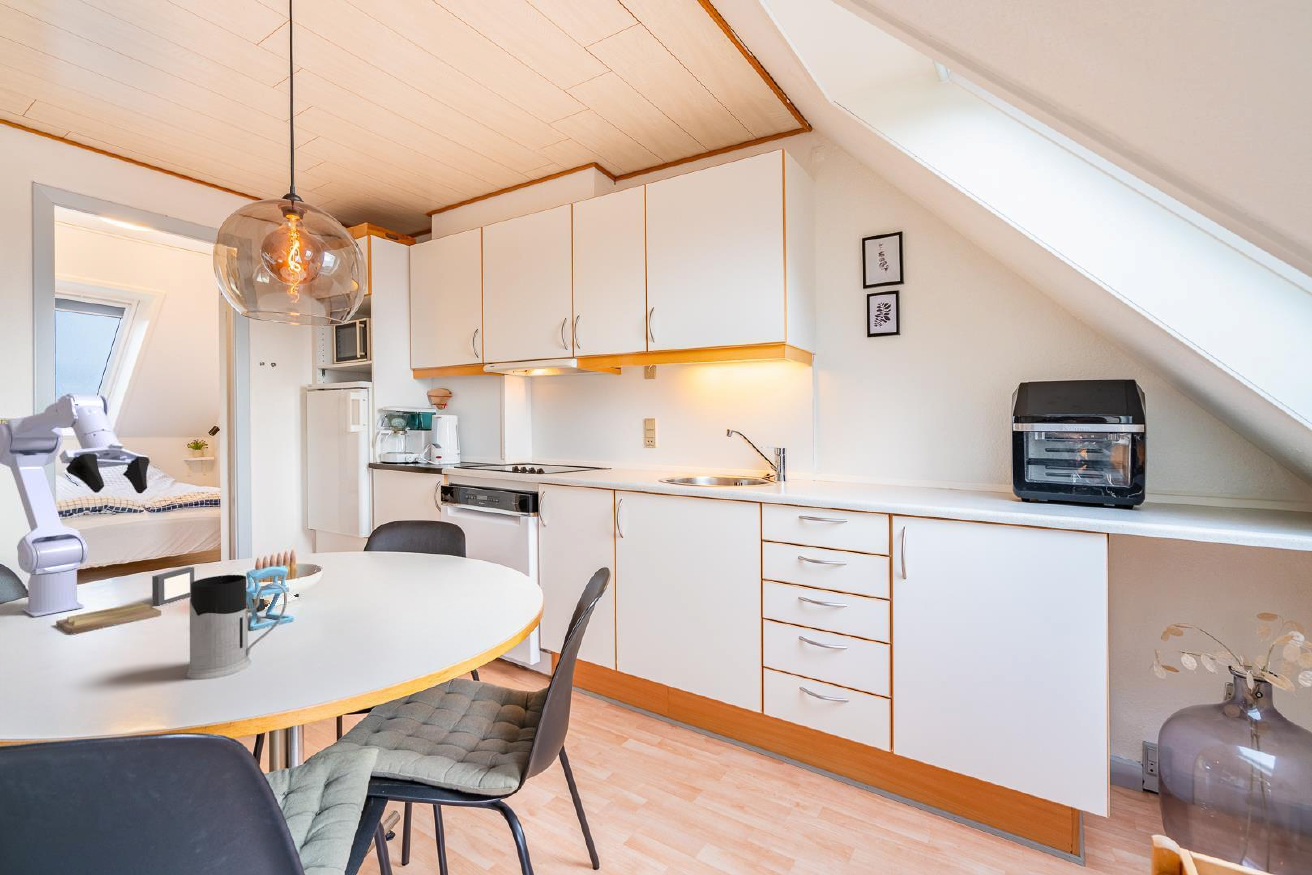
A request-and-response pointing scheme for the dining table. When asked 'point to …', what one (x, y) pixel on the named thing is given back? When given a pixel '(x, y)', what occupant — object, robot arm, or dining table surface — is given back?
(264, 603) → the ammunition clip
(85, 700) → the dining table surface
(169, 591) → the grey upright slab
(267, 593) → the chair
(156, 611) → the board
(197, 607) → the glass holder
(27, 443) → the robot arm
